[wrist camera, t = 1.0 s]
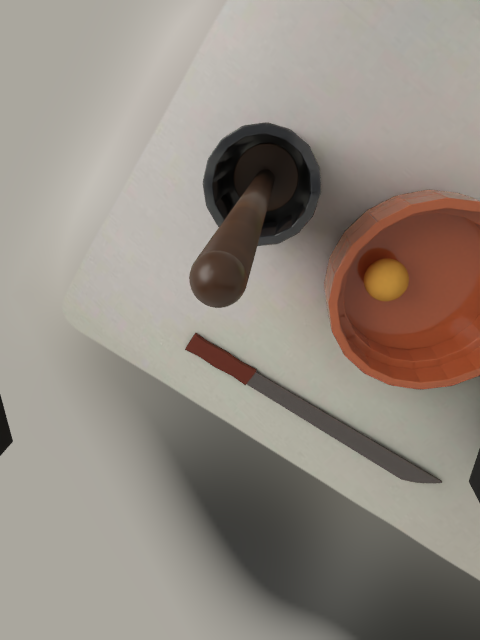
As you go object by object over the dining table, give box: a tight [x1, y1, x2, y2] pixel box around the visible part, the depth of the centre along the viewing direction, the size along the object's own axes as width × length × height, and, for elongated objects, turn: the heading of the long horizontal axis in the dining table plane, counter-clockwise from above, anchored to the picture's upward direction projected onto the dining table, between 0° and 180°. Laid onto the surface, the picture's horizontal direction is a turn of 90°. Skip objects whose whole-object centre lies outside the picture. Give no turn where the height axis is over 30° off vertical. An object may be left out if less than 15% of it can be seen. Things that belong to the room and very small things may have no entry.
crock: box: [203, 123, 321, 246], centre depth 35 cm, size 8×8×10 cm
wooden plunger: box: [189, 143, 298, 308], centre depth 25 cm, size 6×6×30 cm
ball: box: [364, 258, 409, 301], centre depth 39 cm, size 4×4×4 cm
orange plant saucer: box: [324, 190, 480, 389], centre depth 39 cm, size 18×18×6 cm
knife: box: [185, 333, 442, 483], centre depth 49 cm, size 3×35×1 cm, turn 58°
